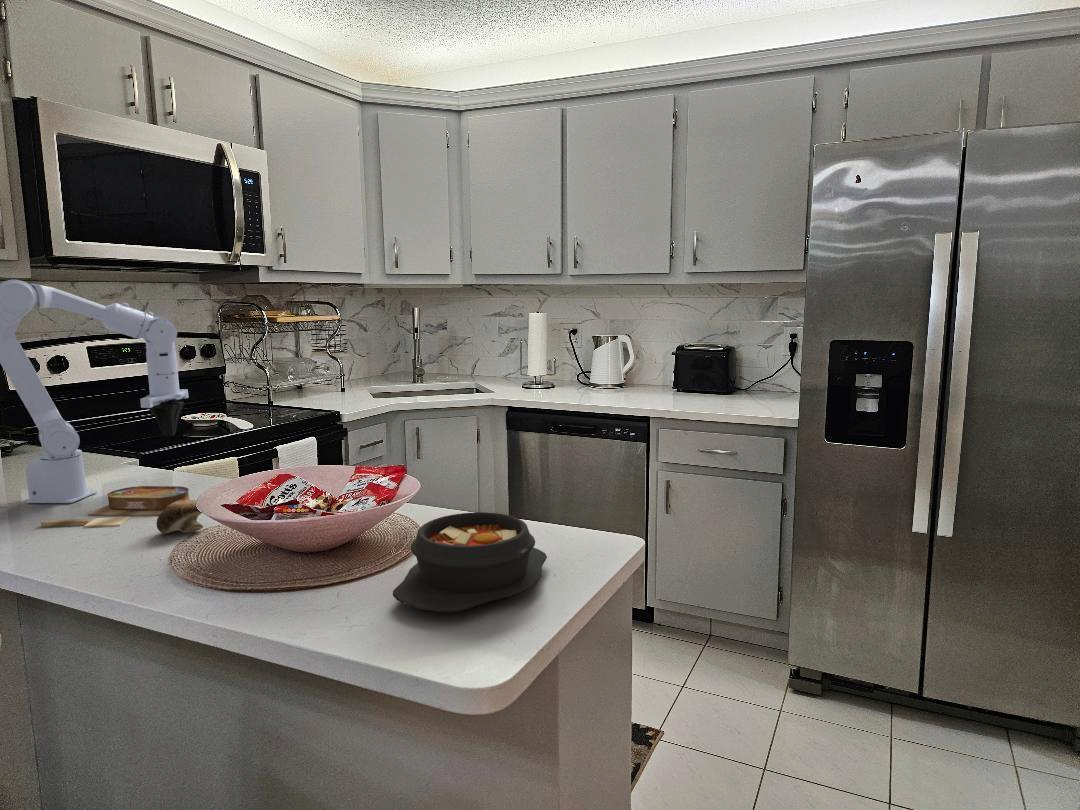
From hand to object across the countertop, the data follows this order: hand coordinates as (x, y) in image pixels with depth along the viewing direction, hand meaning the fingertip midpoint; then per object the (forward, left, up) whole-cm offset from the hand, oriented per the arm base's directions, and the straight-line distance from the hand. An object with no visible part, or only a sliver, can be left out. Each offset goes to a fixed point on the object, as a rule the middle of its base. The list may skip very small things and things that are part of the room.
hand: (169, 435), depth 155 cm
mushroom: (+21, -33, -11) cm, 41 cm away
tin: (+6, -14, -9) cm, 18 cm away
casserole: (+75, -55, -11) cm, 94 cm away
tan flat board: (+6, -20, -10) cm, 23 cm away
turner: (+1, -29, -10) cm, 31 cm away
